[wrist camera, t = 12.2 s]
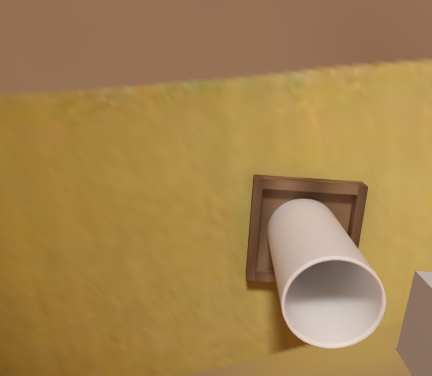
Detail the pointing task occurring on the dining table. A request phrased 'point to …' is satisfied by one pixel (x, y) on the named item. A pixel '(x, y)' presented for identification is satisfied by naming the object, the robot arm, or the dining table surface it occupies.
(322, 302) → the cup
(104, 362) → the dining table surface
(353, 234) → the square wooden tray
